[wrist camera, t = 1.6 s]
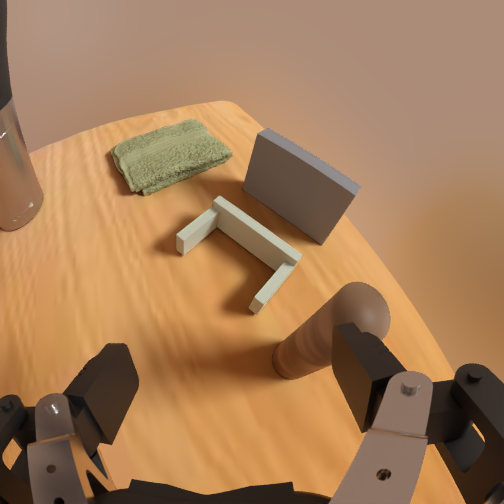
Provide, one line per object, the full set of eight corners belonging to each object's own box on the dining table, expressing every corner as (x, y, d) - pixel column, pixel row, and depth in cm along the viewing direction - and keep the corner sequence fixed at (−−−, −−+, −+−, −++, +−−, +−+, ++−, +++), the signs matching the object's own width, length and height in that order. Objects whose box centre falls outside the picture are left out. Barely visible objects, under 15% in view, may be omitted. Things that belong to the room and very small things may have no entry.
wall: (242, 189, 40) (257, 133, 32) (251, 182, 41) (268, 128, 33) (321, 245, 37) (355, 195, 29) (328, 235, 39) (361, 186, 31)
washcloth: (107, 156, 39) (104, 141, 37) (195, 128, 48) (197, 113, 45) (135, 204, 35) (132, 187, 32) (236, 165, 44) (239, 150, 41)
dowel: (263, 363, 27) (323, 317, 16) (286, 332, 29) (351, 270, 18) (297, 387, 26) (376, 357, 15) (317, 355, 28) (397, 306, 17)
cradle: (176, 249, 32) (176, 228, 29) (216, 216, 36) (219, 195, 33) (256, 314, 30) (266, 300, 26) (291, 272, 33) (302, 255, 30)
